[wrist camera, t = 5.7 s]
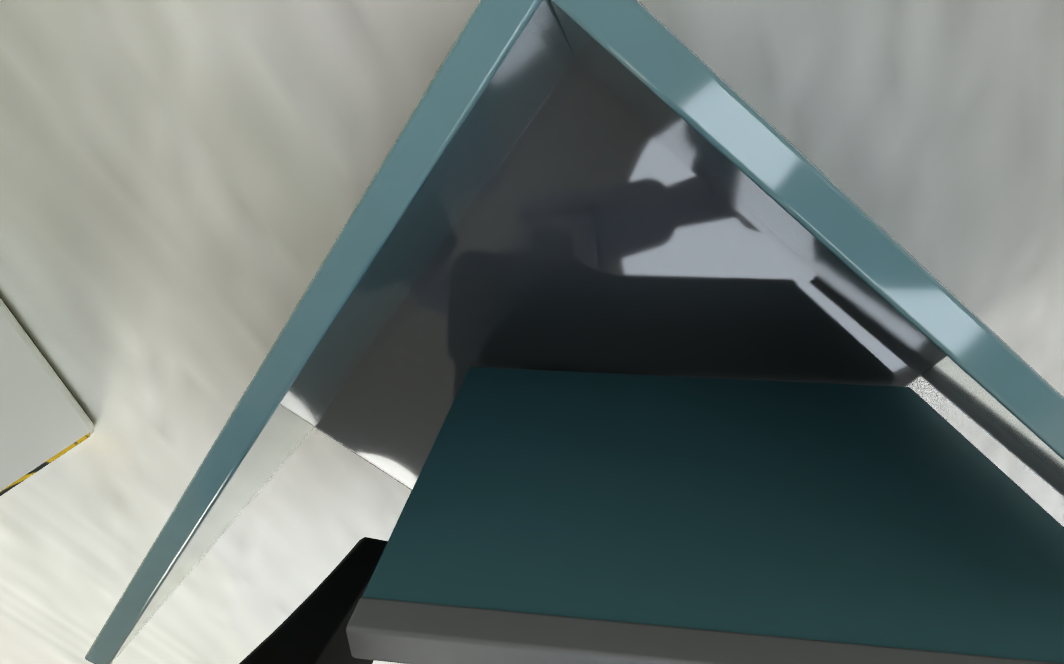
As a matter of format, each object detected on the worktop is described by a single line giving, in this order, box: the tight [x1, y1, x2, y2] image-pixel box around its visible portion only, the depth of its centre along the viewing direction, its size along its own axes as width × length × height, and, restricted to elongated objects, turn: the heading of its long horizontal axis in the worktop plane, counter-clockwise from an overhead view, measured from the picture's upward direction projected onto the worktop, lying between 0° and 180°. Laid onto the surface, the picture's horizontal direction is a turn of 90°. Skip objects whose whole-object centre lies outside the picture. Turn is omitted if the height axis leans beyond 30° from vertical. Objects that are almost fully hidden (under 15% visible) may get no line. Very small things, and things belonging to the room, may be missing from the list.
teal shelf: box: [346, 367, 1064, 664], centre depth 10 cm, size 5×10×7 cm, turn 90°
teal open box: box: [85, 0, 1064, 664], centre depth 11 cm, size 12×12×8 cm
